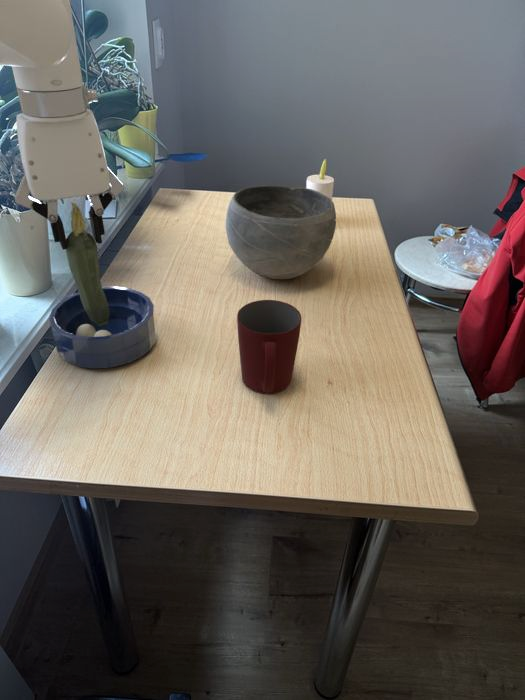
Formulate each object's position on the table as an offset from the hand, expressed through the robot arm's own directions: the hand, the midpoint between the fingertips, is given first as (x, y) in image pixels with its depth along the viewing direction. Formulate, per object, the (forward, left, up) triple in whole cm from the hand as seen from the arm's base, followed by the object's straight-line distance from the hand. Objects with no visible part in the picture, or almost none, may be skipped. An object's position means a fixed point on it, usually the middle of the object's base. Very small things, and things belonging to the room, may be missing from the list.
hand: (80, 241), depth 75 cm
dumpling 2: (0, -2, -16) cm, 16 cm away
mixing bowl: (+1, 0, -18) cm, 18 cm away
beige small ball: (-2, +1, -16) cm, 16 cm away
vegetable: (0, 0, -15) cm, 15 cm away
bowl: (+38, +12, -18) cm, 44 cm away
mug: (+20, -20, -18) cm, 34 cm away
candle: (+58, +31, -18) cm, 69 cm away
